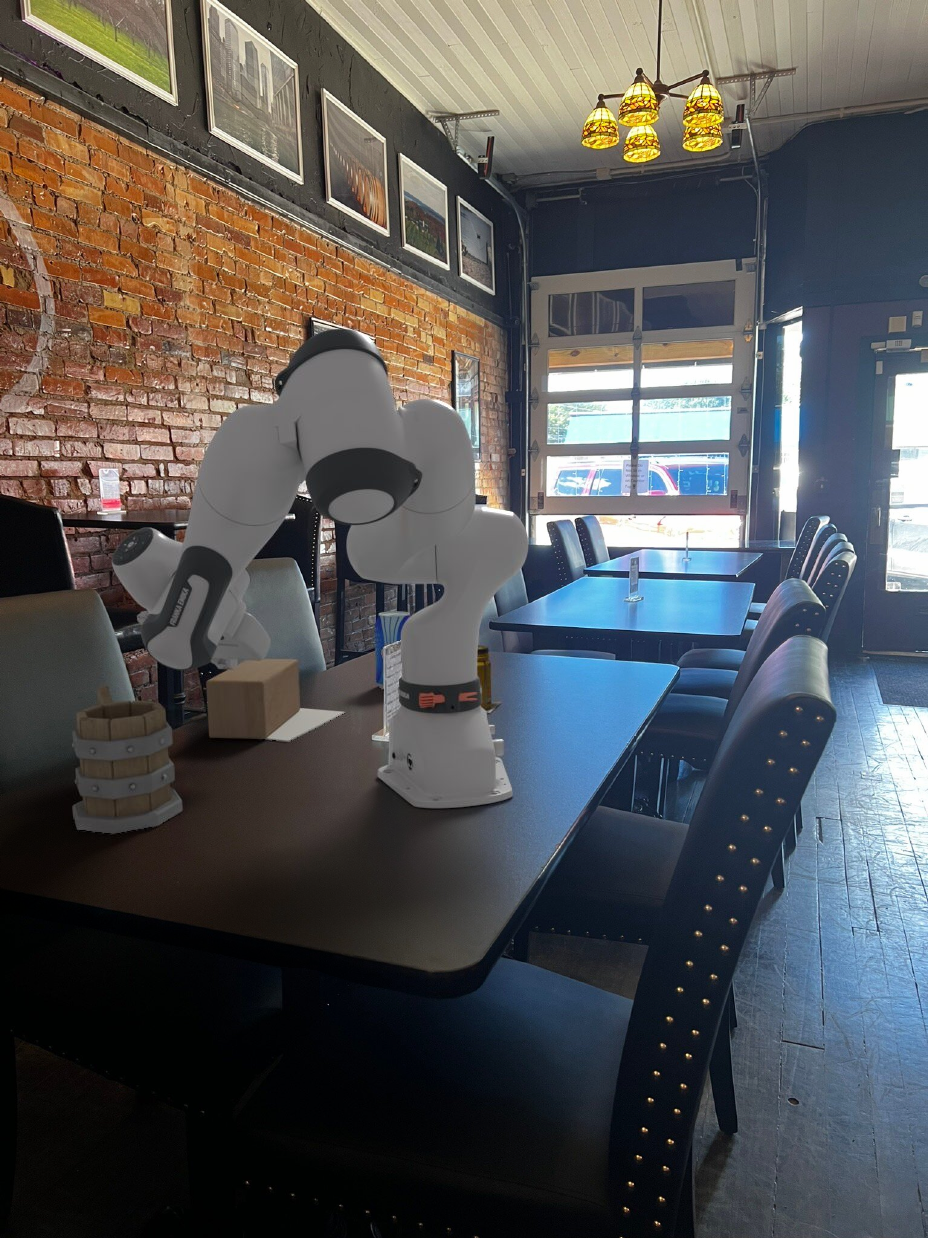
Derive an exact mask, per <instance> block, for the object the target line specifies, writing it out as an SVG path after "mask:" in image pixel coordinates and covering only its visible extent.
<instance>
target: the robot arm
mask: <svg viewBox="0 0 928 1238" xmlns="http://www.w3.org/2000/svg"><path fill="white" fill-rule="evenodd" d="M381 353H382V352H381V351H380V350H379V348H378V346H377V345H376V344H375V342H374V341H373V340H372V339H371V337H369V336H368V335H366V334H364V333H362V332H361V331H357V330H355V329H354V330H353V329H349V328H332V329H327V330H323V331H320V332H318V333H317V334H315V335H312V336H311V337H310V338H308V339H307V340H306V341H304V343H302V344H301V345H300V346H299V347H298V348H297V349H296V351H295V352H294V354H293V355H292V356H291V359H290V361H289V363H288V365H287V366H286V367H285V368H283V370H281V371H279V372H278V373H277V375H276V377H275V380H274V389H275V394H276V395H277V396H278V398H277V400H275V401H274V402H272V403H270V404H250V405H249V404H248V405H245V406H242V407H240V408H237V409H235V410H234V411H232V412H231V413H230V414H229V415H228V416H226V418H225V419H224V420H223V422H222V423H221V424H220V425H219V427H218V428H217V429H216V432H215V433H214V435H213V436H212V437H211V438H212V439H211V440H210V442H209V444H208V446H207V448H206V451H205V452H204V454H203V457H202V460H201V464H200V466H199V469H198V474H197V477H196V481H195V487H194V491H193V494H192V501H191V506H190V511H189V517H188V522H187V525H186V530H185V535H184V538H183V542H181V541H178V540H177V541H176V540H175V539H173V538H170V537H168V536H166V535H165V534H163V533H162V532H160V531H159V530H157V529H155V528H152V527H142V528H139V529H137V530H134V531H132V532H131V533H130V534H128V535H127V536H126V537H125V538H123V540H122V541H121V542H120V543H119V545H118V546H117V547H116V548H115V550H114V551H113V552H114V553H113V554H112V557H111V564H112V565H111V566H112V568H113V570H114V572H115V576H117V578H118V580H119V582H120V583H121V584H122V586H123V587H124V588H125V590H126V592H128V594H129V595H130V596H131V597H132V599H133V600H134V601H135V602H136V603H137V604H138V605H140V606H141V607H142V608H143V609H146V610H144V611H140V613H138V614H137V615H136V618H137V619H136V620H137V622H138V623H139V624H140V627H139V630H140V631H139V632H140V636H141V639H142V644H144V648H145V650H146V651H147V654H149V656H150V657H151V658H152V659H153V660H155V661H156V662H157V663H159V664H160V665H162V666H164V667H166V668H169V669H171V670H175V671H189V670H194V669H198V668H201V667H203V666H206V665H208V664H210V663H211V664H214V665H215V666H216V668H217V669H218V670H235V669H236V667H237V665H238V664H239V660H241V661H242V660H243V661H246V660H255V661H262V660H263V659H266V658H265V657H266V656H267V654H268V652H269V650H270V647H271V644H272V641H271V640H272V639H271V638H270V636H269V635H268V633H267V631H266V630H265V628H264V627H263V625H262V624H261V623H260V622H259V621H258V620H257V618H256V617H255V616H253V615H252V614H250V613H249V612H247V605H246V603H245V602H244V601H243V597H244V596H245V593H246V592H247V590H248V588H249V585H250V584H251V580H252V578H251V573H250V570H249V568H248V566H249V565H250V563H251V562H252V561H253V559H255V557H256V556H257V555H258V553H259V552H260V551H261V550H262V549H263V547H265V545H266V544H267V543H268V542H269V540H270V539H271V538H272V537H273V536H274V534H275V533H276V531H278V530H279V527H281V525H282V524H283V522H284V520H285V519H286V517H287V516H288V514H289V512H290V510H291V509H292V506H293V504H294V502H295V499H296V497H297V495H298V492H299V488H300V485H302V484H303V483H304V482H305V487H306V489H307V492H308V494H309V497H310V500H311V501H312V504H313V506H314V507H315V509H316V512H318V513H319V515H320V516H322V517H324V518H326V519H328V520H330V521H332V522H334V523H336V524H340V525H344V526H350V528H349V530H348V532H347V537H346V554H347V558H348V560H349V563H350V565H351V567H352V568H353V570H354V571H355V572H356V574H358V576H360V578H362V579H365V580H369V581H373V582H380V583H385V584H390V585H391V584H392V585H425V584H426V585H429V584H431V585H433V584H437V585H442V586H443V588H444V591H443V595H442V596H441V597H440V599H439V600H438V601H436V602H434V603H433V604H430V605H428V606H426V607H424V608H421V609H420V610H418V611H417V612H415V613H413V614H412V615H411V616H410V618H408V620H407V621H406V622H405V623H404V625H403V627H402V631H401V663H402V677H401V678H400V679H399V687H398V691H397V693H398V702H399V704H400V705H399V708H398V710H397V711H396V713H395V714H393V716H391V718H390V719H389V722H388V723H389V724H388V725H389V727H388V729H389V730H388V764H386V765H383V766H381V767H379V768H378V769H377V777H378V778H379V779H380V780H382V782H384V783H385V784H386V785H387V786H389V788H391V790H394V791H395V793H397V794H398V795H399V796H400V797H402V798H403V799H404V800H406V801H407V802H408V803H409V804H411V805H412V806H413V807H414V808H415V807H416V808H423V809H424V808H425V809H450V808H452V809H453V808H464V807H465V808H466V807H471V806H473V807H474V806H480V805H481V806H482V805H486V804H487V805H488V804H493V803H497V802H502V801H504V800H508V799H510V798H512V797H514V795H513V788H512V785H511V782H510V779H509V776H508V774H507V770H506V768H505V766H504V762H503V760H502V757H501V756H503V755H504V754H505V743H504V739H500V738H495V739H493V737H492V735H495V734H496V725H495V724H489V721H488V713H487V711H485V710H484V709H483V708H482V707H481V704H482V688H481V685H480V678H479V677H478V676H477V651H478V645H479V636H480V635H479V633H480V628H481V624H482V619H483V617H484V614H485V611H486V610H487V607H488V604H489V603H490V602H491V600H492V599H493V598H494V596H495V595H496V593H497V592H498V591H499V590H500V589H501V587H503V586H504V585H505V584H506V583H508V582H509V581H510V580H511V579H513V578H514V577H515V576H516V575H517V574H518V573H519V572H520V571H521V569H522V568H523V566H524V564H525V562H526V560H527V556H528V553H529V538H528V533H527V530H526V527H525V525H524V523H523V522H522V520H521V519H520V517H518V515H517V514H516V513H515V512H513V511H511V510H505V509H501V508H496V507H495V508H494V507H491V506H484V505H476V463H475V455H474V449H473V444H472V442H471V437H470V434H469V432H468V428H467V425H466V423H465V421H464V419H463V418H462V416H461V415H460V413H459V412H458V411H457V410H456V409H455V408H453V406H451V405H450V404H449V403H446V402H445V401H441V400H438V399H433V398H421V399H420V398H418V399H415V400H412V401H409V402H407V403H405V404H404V405H401V406H398V408H397V405H396V401H395V397H394V393H393V390H392V388H391V384H390V381H389V379H388V377H389V371H388V367H387V364H386V362H385V360H384V358H383V355H382V354H381ZM498 756H500V757H501V758H500V757H498Z"/></svg>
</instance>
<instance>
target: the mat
mask: <svg viewBox="0 0 928 1238" xmlns="http://www.w3.org/2000/svg"><path fill="white" fill-rule="evenodd" d="M344 713H345V714H346V712H345V711H340V710H339V711H337V710H327V709H315V708H301V707H300V710H299V711H298V712H297V713H295V714H294V715H293V716H292V717H290V718H289V719H288V720H287V721H286V722H284V723H283V724H282V725H281V726H280V727H278V728H277V729H276V730H275V731H274V732H272V733H271V734H270V735H269V736H267V737H266V738H265V740H264V741H272V740H276V741H275V742H284V743H290V742H291V740H292V741H294V740H295V739H296V740H297V737H298V738H300V737H302V736H304V735H306V734H307V733H310V732H311V731H313V730H316V729H317V728H319V727H321V726H323V725H325V724H327V723H329V722H331V721H334V720H335V719H337V718H339V717H341V716H343V715H345V714H344ZM342 714H343V715H342ZM338 716H339V717H338ZM336 717H337V718H336ZM330 720H331V721H330ZM324 723H325V724H324ZM315 728H316V729H315ZM309 731H310V732H309Z"/></svg>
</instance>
